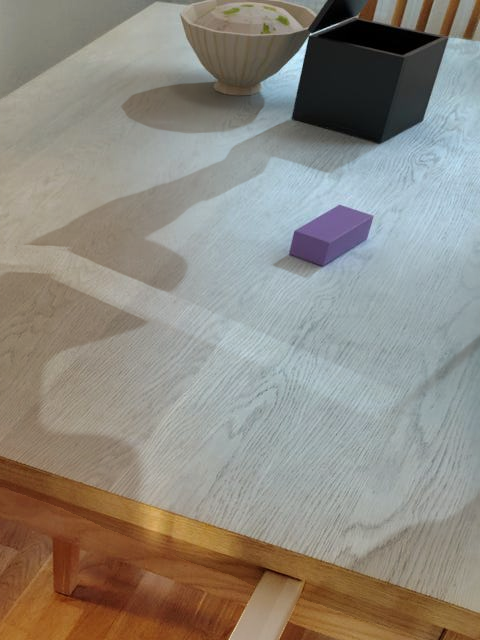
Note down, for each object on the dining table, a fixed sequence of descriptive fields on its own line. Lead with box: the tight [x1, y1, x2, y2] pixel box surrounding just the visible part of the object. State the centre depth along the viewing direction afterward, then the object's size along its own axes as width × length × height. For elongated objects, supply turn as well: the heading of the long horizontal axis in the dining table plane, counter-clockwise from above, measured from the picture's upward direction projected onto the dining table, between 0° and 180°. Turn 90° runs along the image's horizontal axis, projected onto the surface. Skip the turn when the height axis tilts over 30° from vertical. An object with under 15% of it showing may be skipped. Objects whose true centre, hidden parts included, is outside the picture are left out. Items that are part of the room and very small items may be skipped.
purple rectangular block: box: [288, 204, 374, 267], centre depth 96 cm, size 9×4×2 cm, turn 135°
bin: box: [291, 17, 449, 144], centre depth 118 cm, size 13×11×10 cm
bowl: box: [179, 0, 318, 97], centre depth 127 cm, size 19×19×10 cm
